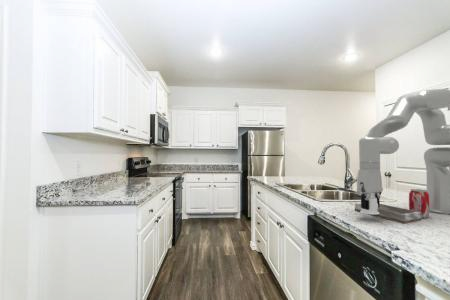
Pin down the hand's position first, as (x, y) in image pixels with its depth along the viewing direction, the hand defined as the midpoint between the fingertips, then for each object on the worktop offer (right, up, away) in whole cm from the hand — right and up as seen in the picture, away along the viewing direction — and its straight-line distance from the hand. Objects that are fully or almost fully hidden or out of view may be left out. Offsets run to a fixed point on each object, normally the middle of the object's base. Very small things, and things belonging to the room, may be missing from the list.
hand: (370, 207), depth 99 cm
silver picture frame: (+11, -5, +7) cm, 14 cm away
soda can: (+25, -6, +5) cm, 26 cm away
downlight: (0, -3, 0) cm, 3 cm away
